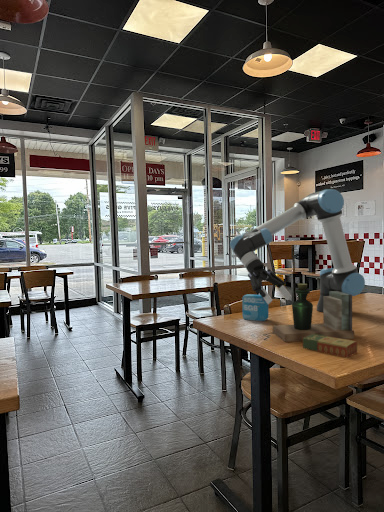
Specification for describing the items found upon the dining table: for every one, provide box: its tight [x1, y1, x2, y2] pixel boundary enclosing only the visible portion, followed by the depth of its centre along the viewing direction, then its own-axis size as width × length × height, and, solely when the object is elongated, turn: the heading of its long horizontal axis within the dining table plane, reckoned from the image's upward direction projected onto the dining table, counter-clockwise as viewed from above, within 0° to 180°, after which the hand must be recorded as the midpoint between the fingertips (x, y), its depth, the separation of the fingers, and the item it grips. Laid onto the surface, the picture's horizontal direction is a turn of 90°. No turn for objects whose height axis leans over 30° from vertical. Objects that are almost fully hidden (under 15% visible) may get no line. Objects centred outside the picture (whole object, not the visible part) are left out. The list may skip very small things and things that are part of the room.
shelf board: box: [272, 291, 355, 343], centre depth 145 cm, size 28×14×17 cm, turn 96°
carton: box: [302, 334, 358, 358], centre depth 126 cm, size 8×16×4 cm, turn 44°
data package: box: [241, 293, 269, 322], centre depth 176 cm, size 12×4×12 cm, turn 65°
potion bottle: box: [291, 283, 314, 330], centre depth 144 cm, size 8×8×18 cm
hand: (280, 300), depth 152 cm, fingers open, 13 cm apart
